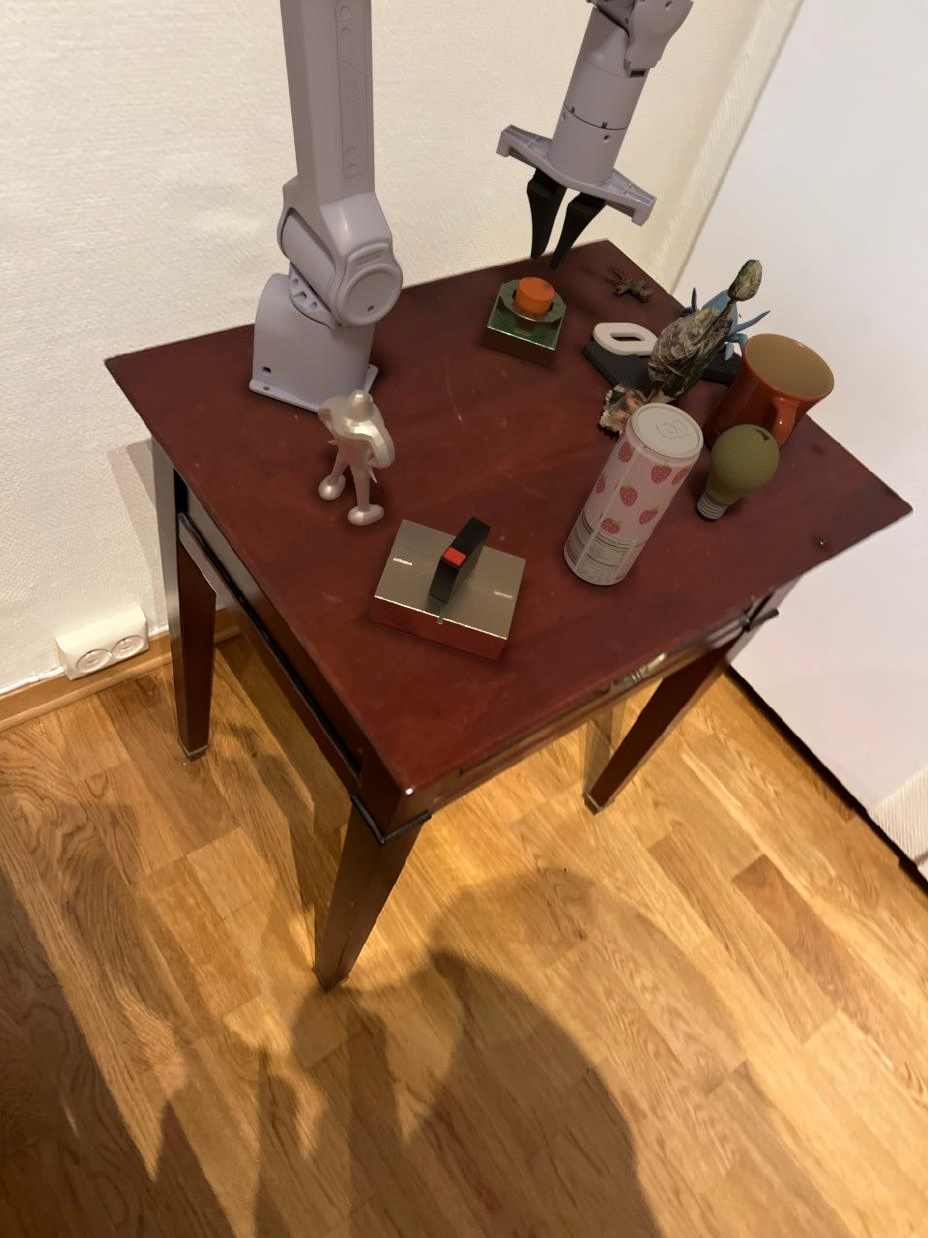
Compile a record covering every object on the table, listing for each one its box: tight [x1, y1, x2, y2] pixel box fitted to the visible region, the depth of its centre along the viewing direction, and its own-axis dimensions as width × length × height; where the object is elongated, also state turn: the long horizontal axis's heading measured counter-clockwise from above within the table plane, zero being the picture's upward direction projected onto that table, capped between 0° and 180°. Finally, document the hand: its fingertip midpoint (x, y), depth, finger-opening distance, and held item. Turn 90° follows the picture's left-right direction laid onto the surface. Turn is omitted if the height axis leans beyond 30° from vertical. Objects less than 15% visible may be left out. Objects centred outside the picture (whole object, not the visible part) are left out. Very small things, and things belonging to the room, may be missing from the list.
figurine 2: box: [676, 286, 771, 385], centre depth 92 cm, size 10×12×8 cm
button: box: [515, 276, 556, 314], centre depth 85 cm, size 4×4×2 cm
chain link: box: [592, 322, 658, 356], centre depth 91 cm, size 8×1×5 cm
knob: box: [429, 516, 492, 603], centre depth 63 cm, size 5×2×4 cm, turn 152°
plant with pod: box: [598, 258, 763, 436], centre depth 77 cm, size 8×11×20 cm
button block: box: [480, 279, 567, 368], centre depth 87 cm, size 7×8×4 cm
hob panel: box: [368, 518, 527, 662], centre depth 66 cm, size 10×9×3 cm
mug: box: [704, 333, 835, 453], centre depth 81 cm, size 12×9×10 cm
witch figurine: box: [586, 267, 653, 302], centre depth 98 cm, size 5×12×2 cm, turn 42°
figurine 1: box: [317, 390, 396, 527], centre depth 65 cm, size 7×4×12 cm, turn 49°
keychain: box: [581, 337, 675, 405], centre depth 88 cm, size 5×1×10 cm
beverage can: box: [563, 403, 704, 586], centre depth 67 cm, size 6×6×15 cm
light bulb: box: [696, 424, 780, 520], centre depth 76 cm, size 6×6×10 cm
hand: (546, 259), depth 82 cm, fingers closed
